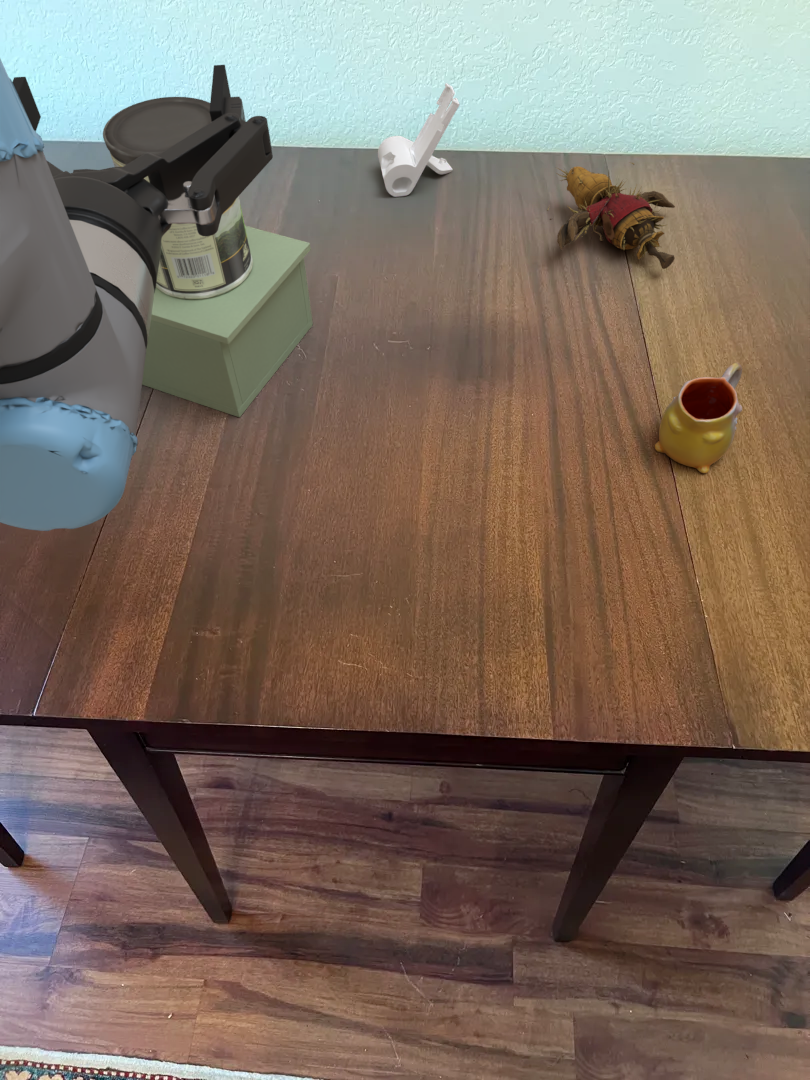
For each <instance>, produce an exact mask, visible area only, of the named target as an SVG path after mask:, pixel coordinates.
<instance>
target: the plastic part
mask: <svg viewBox="0 0 810 1080" xmlns="http://www.w3.org/2000/svg"><path fill="white" fill-rule="evenodd" d="M444 86H445V87H444V88H443V90H442V92H441V94H440V95H439V98H438V99H437V101H436V103H435V104H436V105H438V107H437V108H436V111H435V112H434V114H433V113H431V112H430V114H429V115H428V117H427V119H426V120H425V122H424V124H423V126H422V128H421V129H420V131H419V133H418V134H417V137H416V138H415V140H414V141H412V140H410V139H408V138H407V137H404V136H402V135H393V136H388V137H386V138H385V139H383V140H382V141H381V143H380V144H379V146H378V149H377V157H378V162H379V166H380V170H381V174H382V178H383V182H384V187H385V189H386V192H387V193H388V194H389V195H390V196H392V197H396V198H398V197H406V196H408V195H410V194H411V193H412V192H413V190H414V189H415V187H416V185H417V184H418V182H419V180H420V178H421V176H422V173H424V170H425V168H426V167H429V168H430V169H431V170H432V171H433V172H434V173H436V174H438V175H446V174H449V173H451V172H453V168H452V166H451V165H450V163H449V162H448V161H447V159H446V158H443V157H440V158H438V157H435V156H434V155H433V154H434V152H435V150H436V149H437V147H438V145H439V143H440V141H441V139H442V138H443V136H444V134H445V132H446V130H447V128H448V126H449V125H450V124H451V121H452V120H453V117H454V116H455V114H456V112H457V110H458V108H459V107H460V102H459V99H458V98H457V97H454V96H455V95H456V92H455V90H454V88H453V86H452V85H451V84H449V83H447V82H445V84H444Z"/></svg>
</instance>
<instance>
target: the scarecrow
mask: <svg viewBox="0 0 810 1080" xmlns="http://www.w3.org/2000/svg"><path fill="white" fill-rule="evenodd" d="M629 164H632V165H633V166H635V163H633V162H631V161H630V162H629ZM554 168H556V169H557V170H559V171H561V174H559V173H557V175H558V176H560V177H562V178H564V179H561V180H559V181H560V182H562V181H566V182H567V186H566V191H567V192H569V193H570V194H571V196H572V197H573V199H574V202H575V204H576V206H577V210H578V211H577V210H574V209H572V208H571V207H570V206H568V209H569V210H570V211H571V212H572V213H574V214H572V215H571V216H570V218H569V219H568V220H567V221H566V223H563V225H561V227H560V228H559V231H558V233H557V236H556V243H557V244H558V245H557V246H558V247H559V249H560V250H561V251H562V250H563V249H564V246H566V245H569V244H570V243H571V242H573V241H575V240H577V239H578V238H579V237H581V235H582V234H583V232H584V235H586V234H587V231H588V230H589V227H590V226H591V227H592V229H593V231H592V232H590V234H593V232H594V233H596V234H597V235H599V241H601V242H603V241H604V237H605V239H606V240H607V241H608V242H609V243H610V244H611V245H613V246H614V247H615V248H618V249H621V250H623V251H625V250H633V249H635V248H638V247H639V248H638V250H637V252H636V256H637V259H638V260H641V259H644V258H645V255H646V254H648V256H650V257H652V258H654V257H655V258H657V260H658V261H659V264H660V267H661V269H664V270H665V269H667V268H669V267H670V266H671V265H672V264H673V263H674V262H675V255H674V254H669V253H667V252H664V251H661V250H658V249H657V248H661V246H660V241H659V239H660V238H661V237H662V236H663V235H665V232H664V231H662V230H660V229H661V228H660V227H666V226H667V224H661V223H660V222H661V221H663V220H665V219H664V218H665V216H661V215H654V214H655V213H657V212H661V210H662V208H667V209H668V208H669V209H670V208H671V209H674V208H676V205H675V204H674V203H672V202H671V201H669V200H668V198H667V197H666V196H665V195H664V194H663V193H662V192H659V191H656V190H652V191H645V192H644V191H642V190H641V188H642V185H641V187H640V188H639V189H638V191H637V193H636V189H637V185H638V184H636V185H635V187H634V189H633V192H632V188H630V189H629V193H628V194H627V193H622V191H624V190H626V188H623V187H624V185H625V184H626V182H627V181H628V179H626V181H625V182H624V181H623V180H624V179H622V180H621V182H619V185H618V183H616V184H615V185H614V184H613V183H612V180H611V178H610V173H608V174H605V173H599V172H597V173H595V172H593V171H592V172H591V171H589V170H587V169H586V168H585V167H582V166H578V165H577V166H573V167H571V168H570V170H569V171H567V170H566V168H565V167H563V168H564V170H563V169H562V168H558V167H554ZM617 185H618V186H617ZM621 188H623V189H621ZM550 205H551V204H549V205H548V207H547V209H546V211H547V212H548V211H549V209H550ZM652 206H654V209H656V208H657V207H658V208H661V209H658V210H655V211H654V210H653V208H652ZM551 220H552V218H549V221H551ZM657 223H660V224H657ZM598 227H602V233H601V232H600V231H598V230H597V228H598ZM655 229H657V230H660V231H657V232H656V231H655ZM603 234H604V235H603Z"/></svg>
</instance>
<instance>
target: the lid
mask: <svg viewBox="0 0 810 1080" xmlns="http://www.w3.org/2000/svg"><path fill="white" fill-rule="evenodd" d="M245 229H246V234H247V238H248V243H249V248H250V253H251V255H252V258H253V266H252V270H251V272H250V274H249V275H248V277H247V278H246V279H245V280H244V281H243V282H242V283H241V284H240V285H238V286H237V287H236V288H234V289H232V290H230V291H228V292H226V293H224V294H221V295H218V296H214V297H210V298H205V299H181V298H176V297H173V296H169V295H167V294H165V293H164V292H162V291H160V290H159V289H158V288H156V289H155V293H154V300H153V308H152V315H151V320H153V321H156V322H159V323H162V324H166V325H169V326H172V327H175V328H178V329H182V330H185V331H188V332H191V333H194V334H198V335H201V336H204V337H207V338H210V339H213V340H217V341H220V342H223V343H226V344H229V343H230V342H231V341H232V340H233V339H234V338H235V337H236V335H237V334H238V333H239V332H240V331H241V330H242V328H243V327H244V326H245V325H246V324H247V323H248V322H249V320H250V319H251V318H252V317H253V316H254V315H255V313H256V312H257V311H258V310H259V309H260V308H261V307H262V305H263V304H264V303H265V302H266V301H267V300H268V298H269V297H270V296H271V295H272V294H273V293H274V292H275V290H276V289H277V288H278V287H279V286H280V285H281V283H282V282H283V281H284V280H285V279H286V278H287V277H288V275H289V274H290V273H291V272H292V271H293V270H294V268H295V267H296V266H297V265H298V264H299V263H300V261H301V260H302V259H303V258H304V259H305V257H306V256H307V255H308V254H309V252H310V251H311V250H312V248H311V243H310V242H308V241H304V240H300V239H296V238H293V237H289V236H285V235H282V234H278V233H275V232H271V231H267V230H263V229H259V228H256V227H252V226H249V225H245Z"/></svg>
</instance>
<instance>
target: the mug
mask: <svg viewBox="0 0 810 1080" xmlns="http://www.w3.org/2000/svg"><path fill="white" fill-rule="evenodd" d="M742 374H743V366H742V364H740V362H733V363H731V364H729V365H728V366H727V368H726V369H725V371H724V372H723V374H722V376H721V377H712V376H711V377H710V376H702V377H700V376H699V377H696V378H693V379H690V380H687V381H684V383H683V385H682V386H681V388H680V391H679V392H678V393H677V395H676V396H673V398H672V400H671V402H670V403H668V405H667V406H666V408H665V410H664V412H663V414H662V416H661V418H660V421H659V427H658V441H657V442H656V443H655V444H654V450H655V451H656V452H657V453H662V454H665V455H667V457H669V458H670V459H671V460H673V461H674V462H676V463H678V464H680V465H683V466H685V467H689V468H694V469H696V470H697V471H699V473H701V474H708V473H709V471H710V469H711V465H713V464H715V463H717V462H718V461H719V460H721V459H722V458H723V457H724V456H725V455H726V453H727V452H728V451H729V449H730V447H731V446H732V444H733V441H734V438H735V436H736V435H735V434H736V430H737V424H738V415H739V414H741V413H742V412H743V406H742V404H741V403H739V399H738V394H737V390H736V388H737V386H738V384H739V383H740V380H741V377H742Z"/></svg>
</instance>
